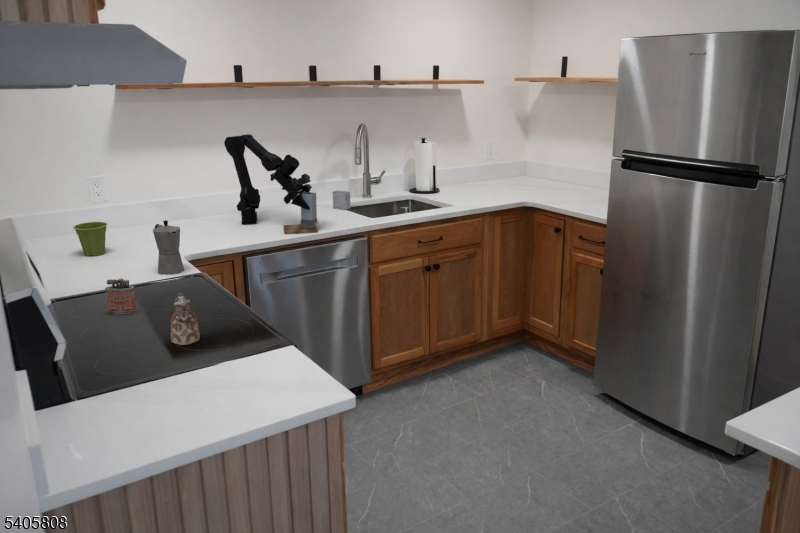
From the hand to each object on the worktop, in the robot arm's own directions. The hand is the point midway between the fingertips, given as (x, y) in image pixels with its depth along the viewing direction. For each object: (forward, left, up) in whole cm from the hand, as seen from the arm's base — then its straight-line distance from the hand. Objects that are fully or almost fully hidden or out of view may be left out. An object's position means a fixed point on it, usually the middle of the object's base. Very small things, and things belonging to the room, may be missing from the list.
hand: (311, 208), depth 280 cm
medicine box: (+18, +45, -10) cm, 49 cm away
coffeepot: (-53, -46, -10) cm, 71 cm away
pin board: (-5, +4, -10) cm, 12 cm away
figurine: (-41, -111, -10) cm, 119 cm away
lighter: (-61, -86, -10) cm, 106 cm away
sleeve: (-1, +1, -7) cm, 7 cm away
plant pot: (-84, -17, -10) cm, 87 cm away
